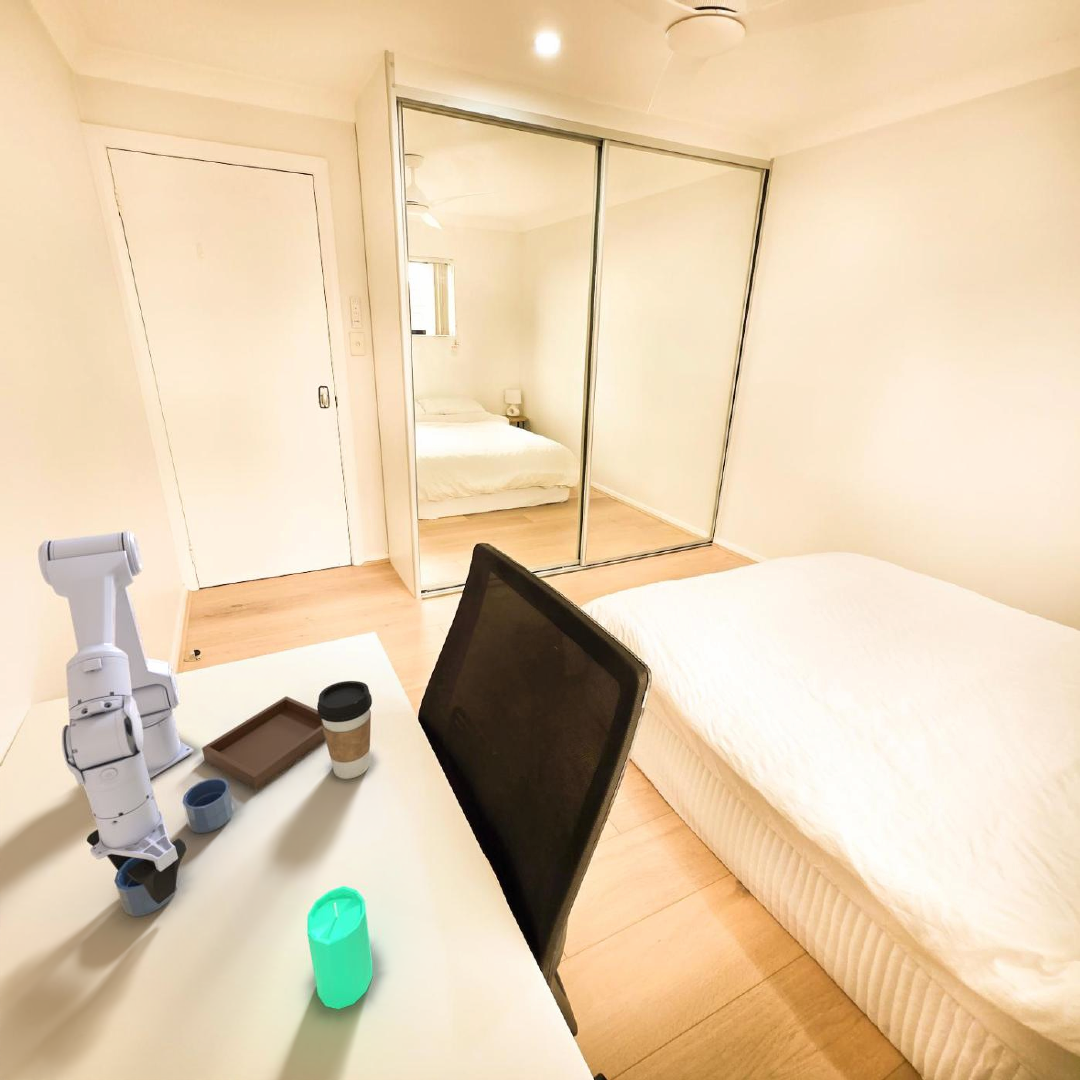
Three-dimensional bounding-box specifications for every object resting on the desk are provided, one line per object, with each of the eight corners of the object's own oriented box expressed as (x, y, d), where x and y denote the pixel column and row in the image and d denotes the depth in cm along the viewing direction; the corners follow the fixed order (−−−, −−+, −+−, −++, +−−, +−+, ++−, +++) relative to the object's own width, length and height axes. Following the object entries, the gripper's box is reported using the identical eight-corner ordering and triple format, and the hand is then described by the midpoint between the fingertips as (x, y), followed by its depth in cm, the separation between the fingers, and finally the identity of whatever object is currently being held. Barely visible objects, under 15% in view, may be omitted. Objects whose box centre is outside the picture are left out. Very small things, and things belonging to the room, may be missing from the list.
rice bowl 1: (114, 905, 67) (104, 876, 65) (163, 867, 72) (155, 840, 70) (139, 927, 65) (130, 898, 63) (189, 887, 70) (181, 859, 68)
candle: (326, 952, 63) (314, 878, 59) (378, 948, 63) (370, 875, 59) (309, 1011, 57) (295, 934, 53) (366, 1007, 58) (357, 930, 54)
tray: (204, 760, 91) (201, 747, 90) (287, 706, 105) (286, 695, 104) (256, 790, 85) (253, 777, 84) (337, 729, 99) (336, 718, 98)
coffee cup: (362, 788, 86) (353, 712, 81) (315, 779, 87) (304, 703, 82) (386, 753, 94) (380, 680, 89) (342, 745, 95) (334, 673, 90)
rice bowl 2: (180, 825, 78) (173, 799, 77) (219, 797, 83) (213, 772, 82) (204, 841, 76) (198, 815, 74) (243, 812, 81) (237, 786, 79)
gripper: (51, 798, 63) (81, 882, 67) (118, 851, 56) (146, 939, 61) (119, 761, 69) (142, 840, 73) (185, 805, 62) (206, 888, 67)
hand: (148, 882), depth 67 cm, fingers open, 7 cm apart
